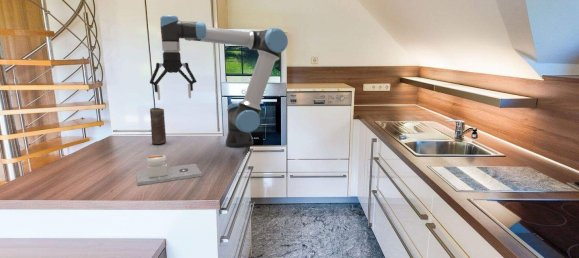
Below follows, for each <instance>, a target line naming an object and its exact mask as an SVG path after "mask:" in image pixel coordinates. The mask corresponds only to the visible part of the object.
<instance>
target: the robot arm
mask: <svg viewBox="0 0 579 258" xmlns="http://www.w3.org/2000/svg"><path fill="white" fill-rule="evenodd" d="M159 20H160V35H161V46H162V47H161V50H162V51H163V52H162V61H163V62H162V63H161V62H160V63H159V62H156V63H155V68H154V71H153V73H152V76H151V78H150V80H149V84H150V85H153V87H154V92H155V93H157V100H158V101H161V93H160V92H161V91H160V85H159V83H160V82H161V81H162V79H163V78H164V76H165V75H166V74H167V73H170V74H173V73H174V74H176V73H179V74H180V75H181V76H182V77H183V78H184V79H185V80H186V81H187V82H188V83H187V91H188V93H187V94H188V95H187V96H188V99H191V98H192V91H194V85H193V84H195V83H197V80H196V78H195V76H194V74H193V72H192V71H191V69H190V66H189V62H183V63H182V60H181V57H182V56H181V53H180V51H181V47H180V44H181V43H180V39H184V40H185V41H191V42H193V41H194V42H202V43H204V42H205V43H211V44H220V45H229V46H236V47H237V46H238V47H247V48H248V49H249V50H254V51H257V53H258V57H257V60H256V63H255V66H254V69H253V72H252V74H251V78H250V80H249V83H248V87H247V89H246V92H245V95H244V97H243V100H241V101H239V103H232V104H231V103H230V104H228V105H227V111H226V112H227V128H228V131H227V134H226V139H225V147H229V148H231V149H232V148H235V149H242V148H249V147H251V146H253V145H254V139H253V137H252V132H254V131H255V130H257V129H258V127H259V126H260V123H261V118H260V114H261V111H262V108H261V106H260V105H261V102H262V101H263V100H262V99H263V97H264V95H265V91H266V89H267V86H268V82H269V80H270V77H271V74H272V71H273V68H274V65H275V63H276V61H278V60H280V57H281V54H282V52H283V51H285V50H286V48H287V47H288V43H289V41H288V37H287V33H286V32H285V31H283V30H282V29H281V28H279V27H271V28H269V29H263V30H250V31H241V30H233V29H228V28H222V27H221V28H219V27H211V26H207V25H206V23H205V22H203V21H184V20H183V21H182V20H179V17H178V16H176V15H168V14H167V15H166V14H165V15H161V16H160V19H159ZM160 68H164V70H163V71H162V72H161V74H160V75H159V76H158V77H157V75H158V72H159V70H160ZM181 68H185V69H186V72H187V73H188V75H189V76H187V74H185V73H184V71H183V70H182V69H181ZM156 77H157V79H156V80H155V78H156ZM189 77H190V78H189Z"/></svg>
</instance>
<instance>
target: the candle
mask: <svg viewBox="0 0 579 258" xmlns="http://www.w3.org/2000/svg"><path fill="white" fill-rule="evenodd" d="M149 115H150V131H151V143H152V145H162V144H163V145H164V144H165V143H166V142H167V137H166V136H167V133H166V122H165V109H164V108H161V107H151V108H150V109H149Z"/></svg>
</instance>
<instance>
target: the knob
mask: <svg viewBox="0 0 579 258" xmlns="http://www.w3.org/2000/svg"><path fill="white" fill-rule="evenodd" d="M146 161H147V170H148V174H149V178H151V177H158V176H165V175H168V168H167V167H168V164H167V156H166V155H165V154H154V155H153V154H152V155H148V156H147V157H146Z"/></svg>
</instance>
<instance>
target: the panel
mask: <svg viewBox="0 0 579 258" xmlns="http://www.w3.org/2000/svg"><path fill="white" fill-rule="evenodd" d="M167 168H168V175H165V176H158V177H151V178H149V174H148V169H144V170H136V185H137V187H139V186H145V185H149V184H150V185H151V184H157V183H164V182H165V183H166V182H171V181H178V180H184V179H192V178H198V177H199V178H200V177H203V173H202V172H201V169H200V168H199V167H198V165H197V164H196V163H191V164H183V165H182V164H181V165H175V166H167Z"/></svg>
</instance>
